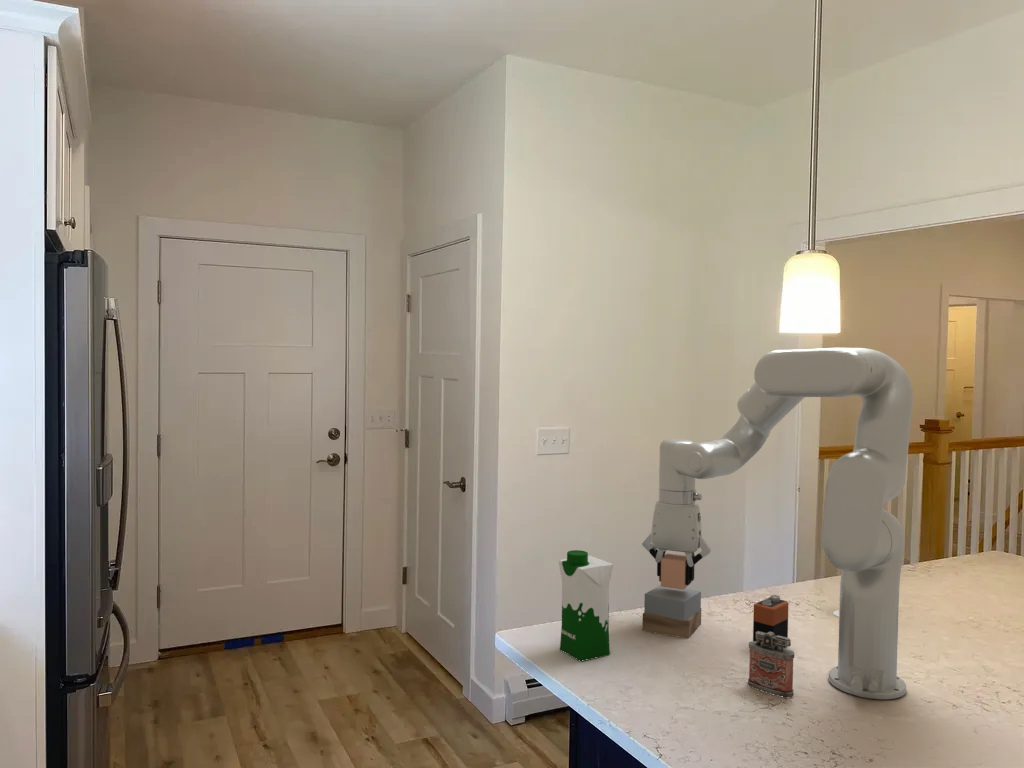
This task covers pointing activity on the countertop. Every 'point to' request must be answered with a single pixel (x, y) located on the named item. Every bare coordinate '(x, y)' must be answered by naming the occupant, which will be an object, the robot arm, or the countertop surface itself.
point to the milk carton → (585, 605)
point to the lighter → (771, 664)
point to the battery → (771, 616)
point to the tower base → (671, 625)
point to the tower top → (672, 602)
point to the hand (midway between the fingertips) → (675, 580)
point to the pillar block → (673, 571)
